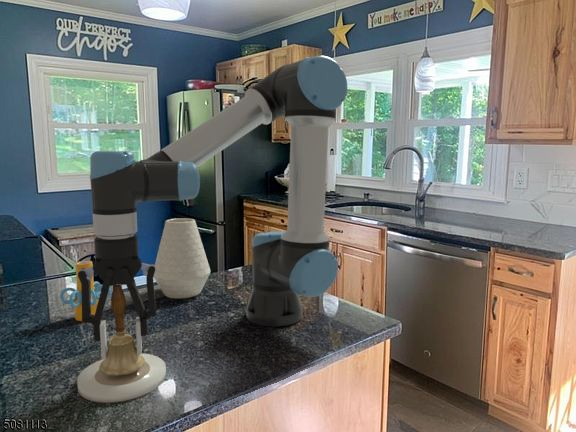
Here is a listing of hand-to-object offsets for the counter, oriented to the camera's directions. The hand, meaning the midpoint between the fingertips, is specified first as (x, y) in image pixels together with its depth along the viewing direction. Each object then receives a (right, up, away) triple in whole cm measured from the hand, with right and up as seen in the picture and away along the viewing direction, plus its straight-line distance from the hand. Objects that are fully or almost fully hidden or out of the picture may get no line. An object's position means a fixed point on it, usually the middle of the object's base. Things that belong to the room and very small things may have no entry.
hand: (122, 353), depth 84 cm
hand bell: (0, -3, 0) cm, 3 cm away
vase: (-1, +2, +53) cm, 53 cm away
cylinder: (-21, -1, +32) cm, 39 cm away
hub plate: (0, -5, +1) cm, 5 cm away
